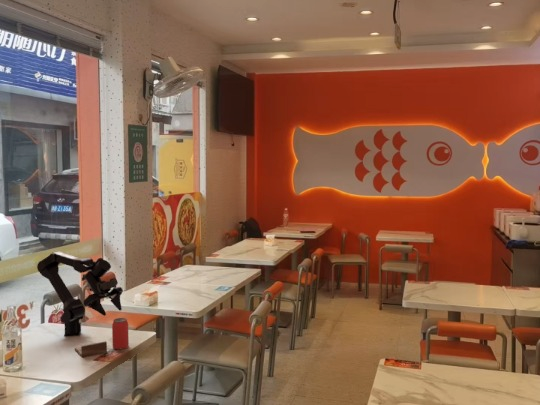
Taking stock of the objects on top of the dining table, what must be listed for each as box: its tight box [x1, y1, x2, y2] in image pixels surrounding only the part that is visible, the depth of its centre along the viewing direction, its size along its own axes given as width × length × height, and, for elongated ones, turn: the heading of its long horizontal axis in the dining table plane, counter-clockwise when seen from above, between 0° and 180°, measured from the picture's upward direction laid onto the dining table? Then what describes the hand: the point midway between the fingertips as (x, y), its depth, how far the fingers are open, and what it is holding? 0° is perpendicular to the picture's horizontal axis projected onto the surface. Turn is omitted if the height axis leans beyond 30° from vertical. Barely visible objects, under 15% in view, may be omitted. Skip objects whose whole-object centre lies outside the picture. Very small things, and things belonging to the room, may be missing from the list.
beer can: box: [111, 317, 130, 350], centre depth 234 cm, size 7×7×12 cm
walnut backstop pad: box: [74, 340, 108, 358], centre depth 230 cm, size 11×10×4 cm
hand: (113, 312), depth 239 cm, fingers open, 9 cm apart
